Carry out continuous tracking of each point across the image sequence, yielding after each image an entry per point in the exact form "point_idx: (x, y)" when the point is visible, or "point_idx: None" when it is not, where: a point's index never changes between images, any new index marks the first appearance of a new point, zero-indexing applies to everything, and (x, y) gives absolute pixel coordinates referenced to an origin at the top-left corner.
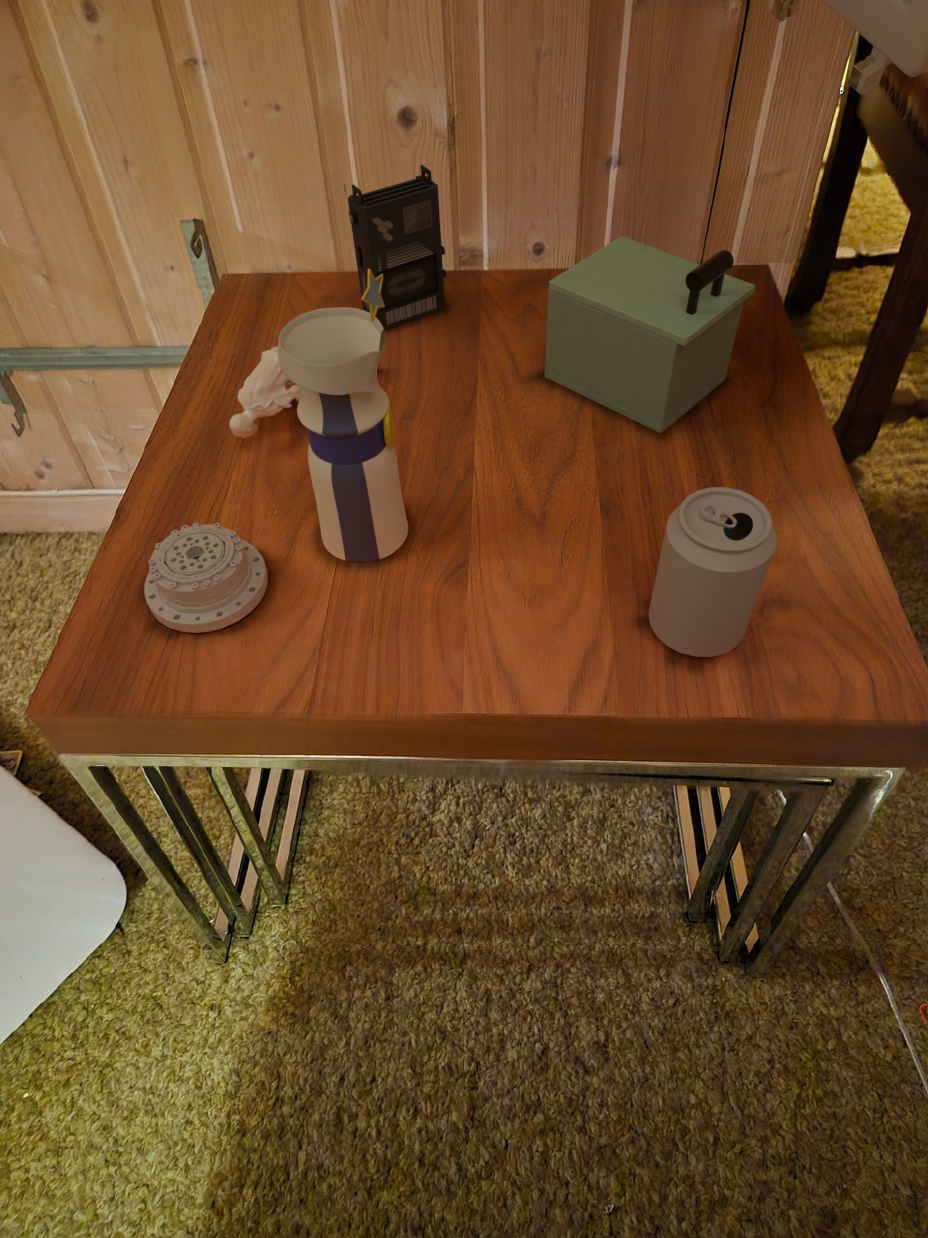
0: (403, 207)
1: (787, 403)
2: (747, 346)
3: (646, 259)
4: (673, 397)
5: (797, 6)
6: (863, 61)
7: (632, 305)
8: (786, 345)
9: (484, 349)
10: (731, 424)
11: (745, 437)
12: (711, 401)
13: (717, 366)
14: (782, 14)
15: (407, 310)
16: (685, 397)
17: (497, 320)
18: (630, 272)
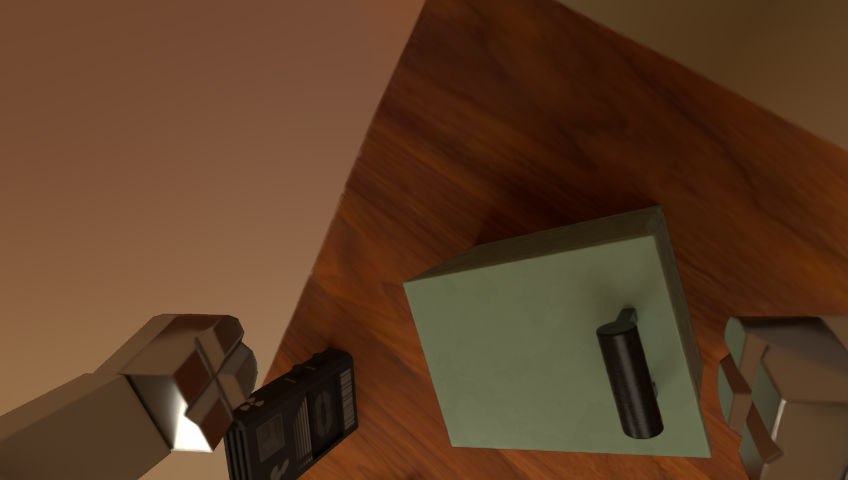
0: (260, 462)
1: (783, 168)
2: (613, 113)
3: (476, 309)
4: (696, 373)
5: (218, 326)
6: (786, 465)
7: (572, 429)
8: (651, 54)
9: (431, 381)
10: (760, 278)
11: (804, 286)
12: (691, 259)
13: (666, 251)
14: (242, 394)
15: (347, 403)
16: (688, 329)
17: (393, 331)
18: (493, 355)
